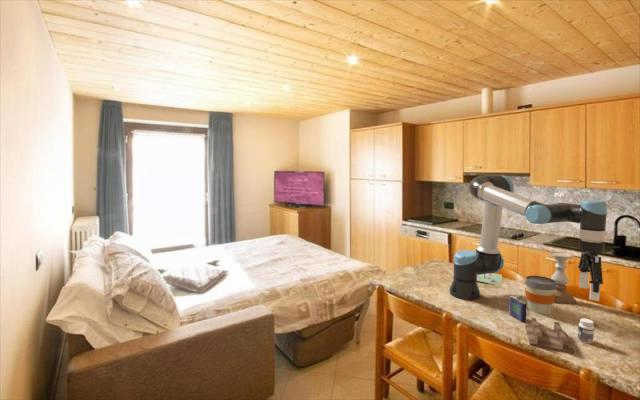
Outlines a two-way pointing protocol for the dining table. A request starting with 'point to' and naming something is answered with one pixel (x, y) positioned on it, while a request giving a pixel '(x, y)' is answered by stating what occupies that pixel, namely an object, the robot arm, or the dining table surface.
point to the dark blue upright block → (517, 308)
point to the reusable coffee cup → (540, 293)
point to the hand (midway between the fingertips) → (588, 293)
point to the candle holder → (561, 278)
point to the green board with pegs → (490, 278)
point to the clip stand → (549, 337)
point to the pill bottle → (585, 330)
